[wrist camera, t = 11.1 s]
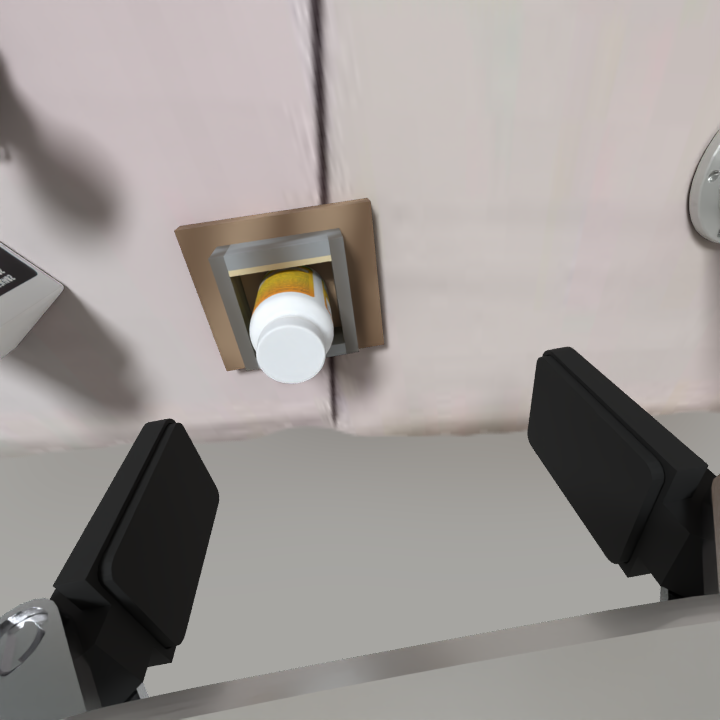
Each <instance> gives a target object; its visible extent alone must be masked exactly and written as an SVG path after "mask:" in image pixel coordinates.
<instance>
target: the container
mask: <svg viewBox="0 0 720 720" xmlns="http://www.w3.org/2000/svg"><path fill="white" fill-rule="evenodd" d="M63 289H64V287H63V285H62V284H61V283H59V282H58V281H56V280H55V279H54V278H52V277H51V276H49V275H48V274H46V273H45V272H43V271H42V270H40V269H39V268H37V267H36V266H34V265H33V264H31V263H30V262H28V261H27V260H25V259H24V258H22V257H21V256H20V255H18V254H17V253H15V252H14V251H12V250H11V249H9V248H8V247H6V246H5V245H3V244H2V243H0V359H1V358H3V357H4V356H5V355H7V354H8V353H9V352H10V351H12V350H13V349H14V348H16V347H17V345H18V344H19V343H20V342H21V341H22V339H23V338H24V337H25V336H26V334H27V333H28V332H29V331H30V330H31V328H32V327H33V326H34V325H35V324H36V322H37V321H38V320H39V319H40V318H41V316H42V315H43V314H44V313H45V312H46V310H47V309H48V308H49V307H50V306H51V304H52V303H53V302H54V301H55V300H56V298H57V297H58V296H59V295H60V293H61V292H62V291H63Z"/></svg>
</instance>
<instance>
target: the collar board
mask: <svg viewBox="0 0 720 720" xmlns="http://www.w3.org/2000/svg"><path fill="white" fill-rule="evenodd" d="M174 232H175V235H176V237H177V240H178V243H179V245H180V248H181V251H182V253H183V256H184V259H185V261H186V264H187V267H188V269H189V272H190V275H191V277H192V280H193V282H194V285H195V288H196V290H197V293H198V296H199V298H200V301H201V304H202V306H203V309H204V312H205V314H206V317H207V320H208V322H209V325H210V328H211V330H212V333H213V336H214V338H215V341H216V344H217V346H218V349H219V352H220V354H221V357H222V360H223V362H224V365H225V368H226V370H227V371H231V370H237V369H243V368H246V371H250V370H255V369H261V368H260V366H259V364H258V361H257V357H256V351H255V349H254V347H253V345H252V343H251V339H250V321H251V317H252V314H253V310H254V306H255V302H256V298H257V294H258V290H259V286H260V283H261V281H262V279H263V277H264V276H265V275H266V274H267V272H269V271H270V270H277V269H283V268H289V267H296V266H302V265H306V266H309V267H310V268H312V269H314V270H315V271H316V272H317V273H318V274H319V275H320V276H321V277H322V279H323V280H324V282H325V285H326V287H327V291H328V296H329V302H330V308H331V315H332V320H333V327H334V336H333V341H332V344H331V347H330V349H329V351H328V352H327V354H326V357H332V356H337V355H343V354H349V353H355V352H359V349H360V348H366V347H372V346H378V345H384V338H383V328H382V317H381V307H380V296H379V286H378V275H377V264H376V254H375V243H374V233H373V222H372V212H371V201H370V200H369V199H368V198H364V199H358V200H351V201H344V202H338V203H331V204H324V205H318V206H311V207H304V208H298V209H291V210H284V211H278V212H271V213H264V214H258V215H251V216H244V217H238V218H231V219H224V220H218V221H211V222H204V223H198V224H191V225H184V226H180V227H178V228H177V229H176V230H175V231H174ZM326 357H325V358H326Z"/></svg>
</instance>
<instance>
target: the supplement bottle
mask: <svg viewBox="0 0 720 720" xmlns="http://www.w3.org/2000/svg"><path fill="white" fill-rule="evenodd" d="M333 336H334V327H333V320H332V315H331V308H330V302H329V296H328V291H327V287H326V285H325V282H324V280H323V279H322V277H321V276H320V275H319V274H318V273H317V272H316V271H315V270H314V269H312V268H310V267H309V266H306V265H302V266H296V267H289V268H283V269H277V270H270V271H269V272H267V274H266V275H265V276H264V277H263V279H262V281H261V283H260V286H259V290H258V294H257V298H256V302H255V306H254V310H253V314H252V317H251V321H250V339H251V343H252V345H253V347H254V349H255V351H256V357H257V361H258V364H259V366H260V368H261V369H262V371H263V372H264V373H265V374H266V375H267V376H269V377H270V378H272V379H274V380H276V381H278V382H282V383H287V384H296V383H301V382H305V381H307V380H309V379H311V378H313V377H314V376H315V375H316V374H317V373H318V372H319V371H320V370H321V368H322V367H323V365H324V362H325V357H326V354H327V352H328V351H329V349H330V347H331V344H332V341H333Z"/></svg>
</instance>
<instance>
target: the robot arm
mask: <svg viewBox="0 0 720 720" xmlns="http://www.w3.org/2000/svg"><path fill="white" fill-rule="evenodd" d="M689 211H690V216H691V221H692V223H693V225H694V227H695V229H696V231H697V232H698V233H699V234H700V235H701V236H702V237H704V238H706V239H708V240H710V241H712V242H716V243H720V130H719V131H718V133H717V134H716V136H715V137H714V138H713V140H712V141H711V143H710V144H709V146H708V147H707V149H706V151H705V153H704V155H703V157H702V159H701V161H700V163H699V165H698V168H697V171H696V173H695V176H694V179H693V182H692V187H691V192H690V200H689ZM528 439H529V442H530V444H531V446H532V447H533V449H534V451H535V452H536V454H537V455H538V457H539V458H540V460H541V461H542V462H543V464H544V465H545V467H546V468H547V470H548V471H549V473H550V474H551V476H552V477H553V479H554V480H555V482H556V483H557V485H558V486H559V488H560V489H561V491H562V492H563V494H564V495H565V497H566V498H567V500H568V501H569V502H570V504H571V505H572V507H573V508H574V510H575V511H576V513H577V514H578V516H579V517H580V519H581V520H582V522H583V523H584V525H585V526H586V528H587V529H588V530H589V532H590V533H591V535H592V536H593V538H594V539H595V541H596V542H597V544H598V545H599V547H600V548H601V550H602V551H603V552H604V554H605V556H606V557H607V558H608V559H609V560H610V561H611V562H612V563H614V564H619V566H620V567H621V569H622V570H623V571H624V573H625V574H626V576H627V577H634V576H639V575H645V574H650V573H651V574H652V575H653V577H654V578H655V579H656V581H657V582H658V583H659V585H660V586H661V592H660V602H657V603H652V604H645V605H638V606H633V607H626V608H620V609H614V610H608V611H602V612H597V613H591V614H586V615H581V616H575V617H569V618H564V619H558V620H553V621H547V622H542V623H537V624H531V625H525V626H520V627H514V628H509V629H503V630H498V631H492V632H487V633H482V634H476V635H470V636H465V637H460V638H454V639H449V640H444V641H438V642H433V643H428V644H422V645H417V646H411V647H406V648H401V649H395V650H390V651H385V652H379V653H374V654H369V655H363V656H358V657H353V658H347V659H342V660H337V661H332V662H326V663H321V664H316V665H310V666H305V667H300V668H295V669H290V670H284V671H279V672H275V673H269V674H264V675H259V676H253V677H248V678H243V679H238V680H233V681H227V682H222V683H217V684H212V685H207V686H202V687H196V688H191V689H186V690H182V691H177V692H173V693H168V694H163V695H158V696H153V697H149V696H148V694H147V692H146V689H145V687H144V684H143V680H144V677H145V673H146V670H147V667H150V666H155V665H161V664H167V663H172V659H173V656H174V652H175V649H176V646H177V645H180V644H181V642H182V641H183V639H184V636H185V633H186V629H187V625H188V622H189V617H190V614H191V610H192V605H193V602H194V598H195V594H196V590H197V586H198V582H199V578H200V574H201V570H202V566H203V562H204V559H205V555H206V551H207V547H208V543H209V539H210V535H211V531H212V527H213V523H214V519H215V515H216V511H217V507H218V503H219V493H218V490H217V487H216V485H215V483H214V482H213V480H212V478H211V476H210V474H209V472H208V471H207V469H206V467H205V465H204V463H203V461H202V460H201V458H200V456H199V454H198V452H197V450H196V448H195V447H194V445H193V443H192V441H191V439H190V437H189V436H188V434H187V432H186V430H185V428H184V426H183V425H182V424H181V423H176V422H175V421H174V420H173V419H164V420H159V421H153V422H148V423H146V424H145V425H144V427H143V428H142V430H141V432H140V434H139V435H138V437H137V439H136V441H135V442H134V444H133V446H132V448H131V449H130V451H129V453H128V455H127V456H126V458H125V460H124V462H123V464H122V465H121V467H120V469H119V470H118V472H117V474H116V476H115V477H114V479H113V481H112V483H111V484H110V487H109V488H108V490H107V492H106V493H105V495H104V497H103V499H102V501H101V502H100V504H99V506H98V507H97V509H96V511H95V513H94V515H93V516H92V518H91V520H90V521H89V523H88V525H87V527H86V528H85V530H84V532H83V534H82V535H81V537H80V539H79V541H78V542H77V544H76V546H75V548H74V549H73V551H72V553H71V555H70V557H69V558H68V560H67V562H66V563H65V565H64V567H63V569H62V570H61V572H60V574H59V576H58V578H57V580H56V581H55V583H54V585H53V587H55V588H56V589H55V591H54V593H53V594H52V596H51V598H50V600H49V599H46V598H42V599H33V600H31V601H28V602H25V603H23V604H20V605H19V606H17V607H15V608H14V609H12V610H10V611H9V612H7V613H5V614H4V615H3V616H2V617H0V720H720V474H719V475H718V476H715V475H714V474H713V473H712V472H711V471H710V470H709V469H707V467H708V465H707V463H705V462H704V461H703V460H702V459H701V458H700V457H698V456H697V455H696V454H695V453H694V452H693V451H691V450H690V449H689V448H688V447H687V446H686V445H684V444H683V443H682V442H681V441H680V440H679V439H677V438H676V437H675V436H674V435H673V434H672V433H671V432H669V431H668V430H667V429H666V428H665V427H663V426H662V425H661V424H660V423H659V422H657V420H655V419H654V418H653V417H652V416H651V415H650V414H648V413H647V412H646V411H645V410H644V409H643V408H641V407H640V406H639V405H638V404H637V403H636V402H635V401H633V400H632V399H631V398H630V397H629V396H628V395H626V394H625V393H624V392H623V391H622V390H621V389H619V388H618V387H617V386H616V385H615V384H614V383H612V382H611V381H610V380H609V379H608V378H607V377H605V376H604V375H603V374H602V373H601V372H600V371H599V370H597V369H596V368H595V367H594V366H593V365H592V364H590V363H589V362H588V361H587V360H586V359H585V358H583V357H582V356H581V355H580V354H579V353H578V352H576V351H575V350H574V349H573V348H571V347H563V348H557V349H552V350H547V351H545V352H544V354H543V356H542V357H540V358H538V360H537V364H536V372H535V379H534V387H533V394H532V402H531V410H530V417H529V425H528Z"/></svg>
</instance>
